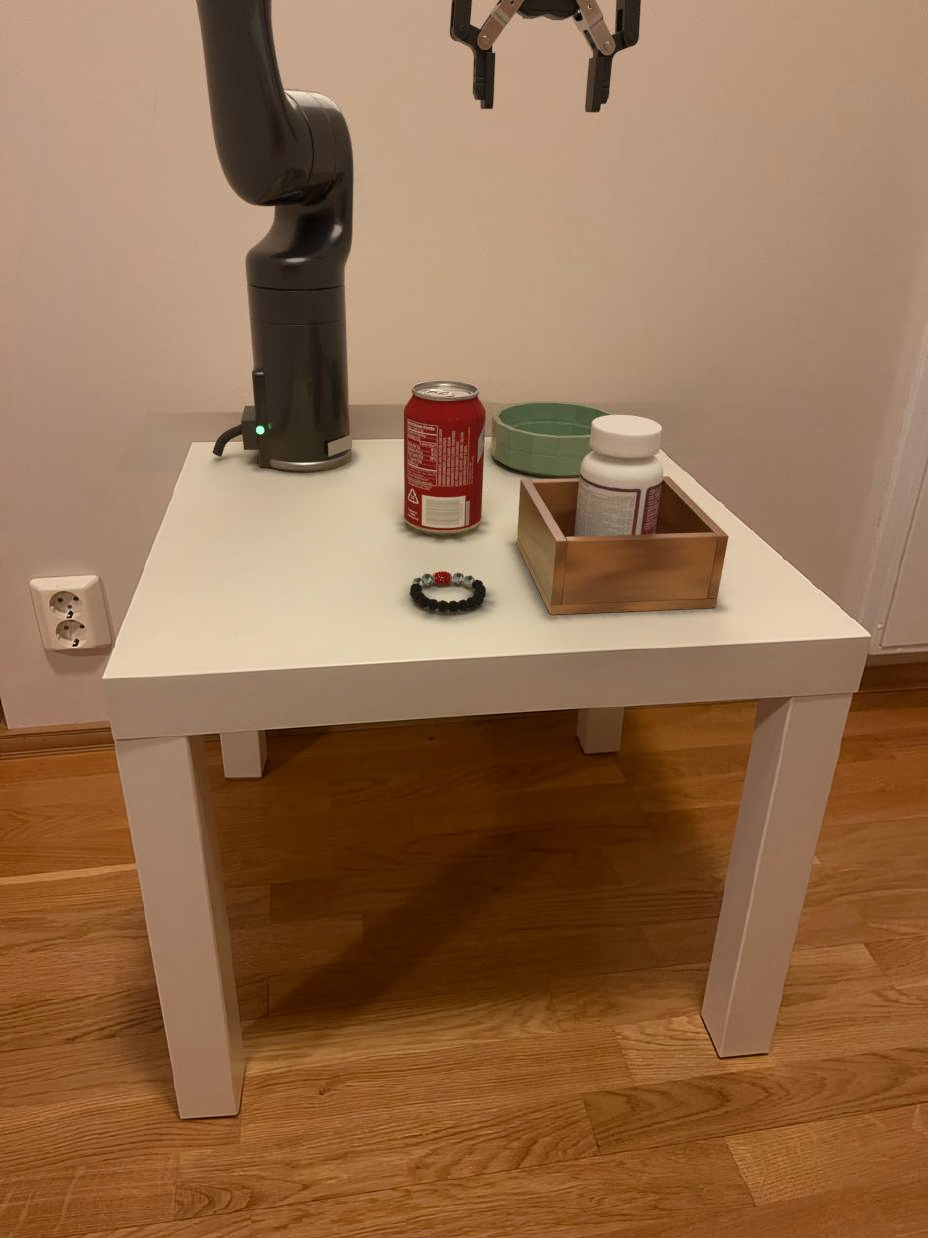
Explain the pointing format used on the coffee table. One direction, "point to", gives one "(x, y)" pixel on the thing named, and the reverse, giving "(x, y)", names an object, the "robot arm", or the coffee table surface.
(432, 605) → the bracelet
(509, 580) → the coffee table surface
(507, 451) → the bowl
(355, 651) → the coffee table surface
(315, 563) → the coffee table surface
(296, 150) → the robot arm
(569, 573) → the holder
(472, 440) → the soda can
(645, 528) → the pill bottle
